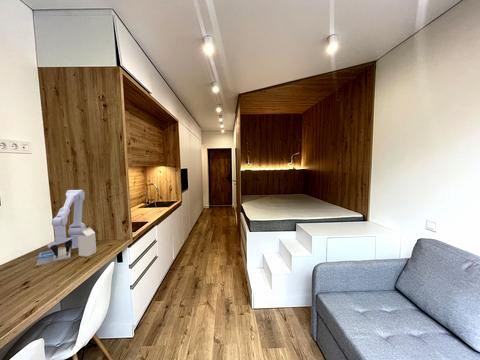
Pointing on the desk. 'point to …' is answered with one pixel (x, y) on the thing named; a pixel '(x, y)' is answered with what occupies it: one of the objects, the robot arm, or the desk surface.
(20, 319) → the desk surface
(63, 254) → the plug
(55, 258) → the duct panel
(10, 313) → the desk surface
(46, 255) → the blue bezel
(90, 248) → the milk carton
